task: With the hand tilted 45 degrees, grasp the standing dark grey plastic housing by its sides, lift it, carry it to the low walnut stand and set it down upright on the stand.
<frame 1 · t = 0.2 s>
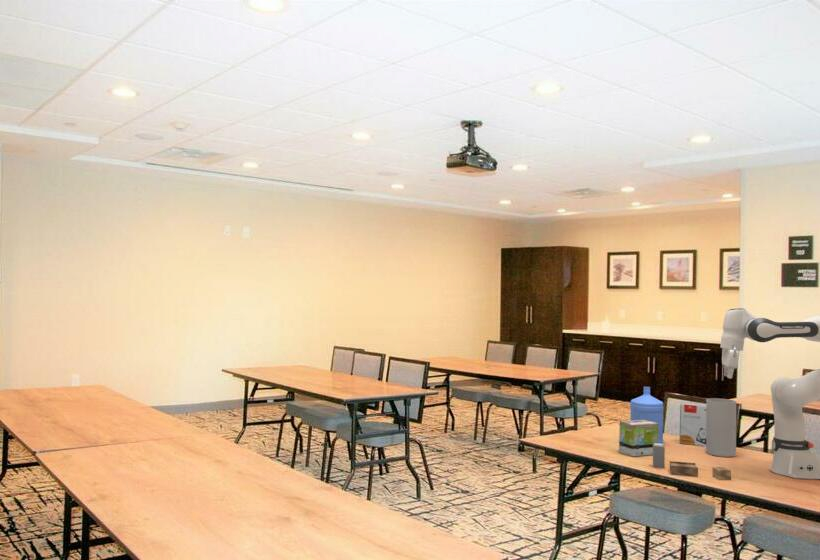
hand: (727, 377, 279), 39 cm above the table, tool pointing down, fingers open, 8 cm apart
tea box: (638, 454, 302), on the table
stand: (683, 473, 269), on the table
housing: (658, 466, 279), on the table
cylinder vase: (721, 454, 303), on the table
water jug: (646, 443, 323), on the table
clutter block: (721, 478, 262), on the table
hard drive box: (696, 444, 323), on the table
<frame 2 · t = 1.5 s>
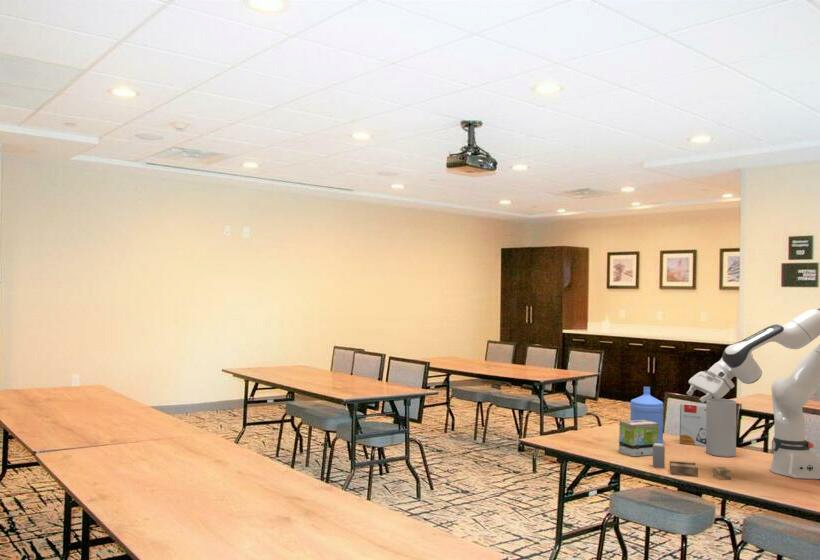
hand: (694, 397, 275), 30 cm above the table, tool tilted 45°, fingers open, 8 cm apart
nothing on the table moved.
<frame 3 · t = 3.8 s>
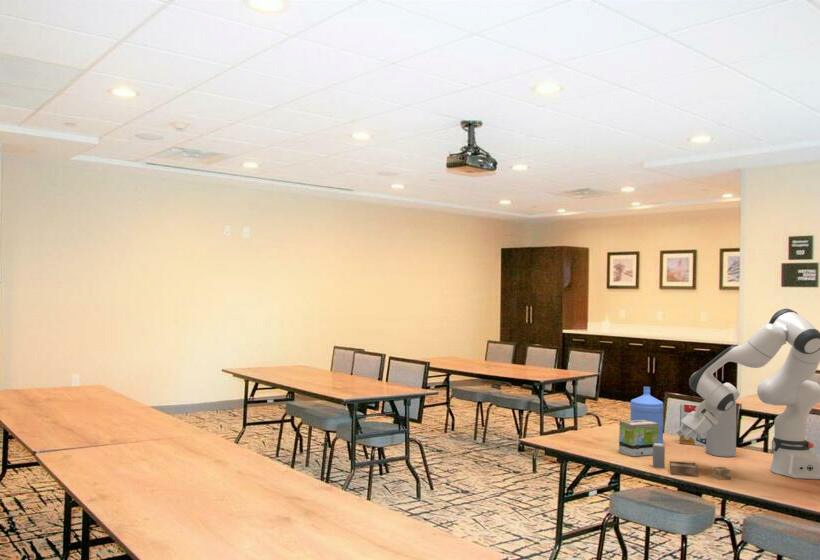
hand: (681, 436, 277), 14 cm above the table, tool tilted 45°, fingers open, 8 cm apart
nothing on the table moved.
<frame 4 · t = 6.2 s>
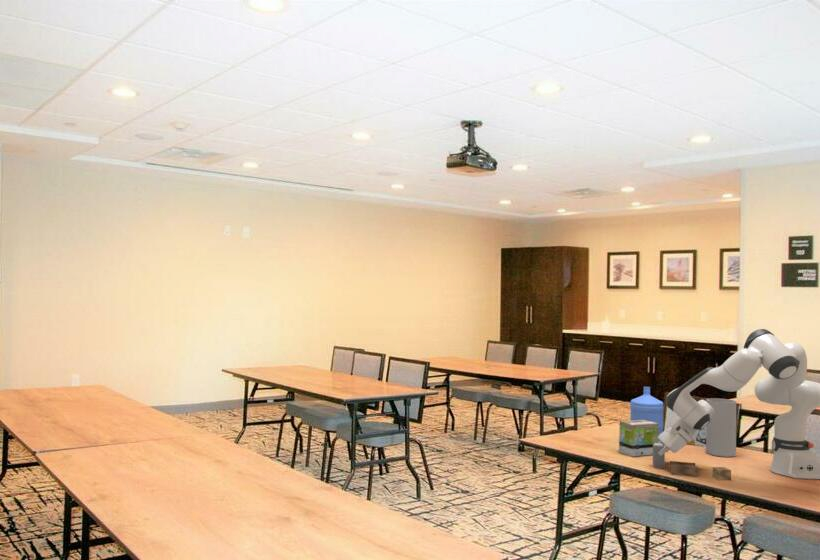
hand: (657, 452, 279), 6 cm above the table, tool tilted 45°, fingers closed on housing, 5 cm apart
housing: (658, 466, 279), on the table, touching gripper
everything else where it was.
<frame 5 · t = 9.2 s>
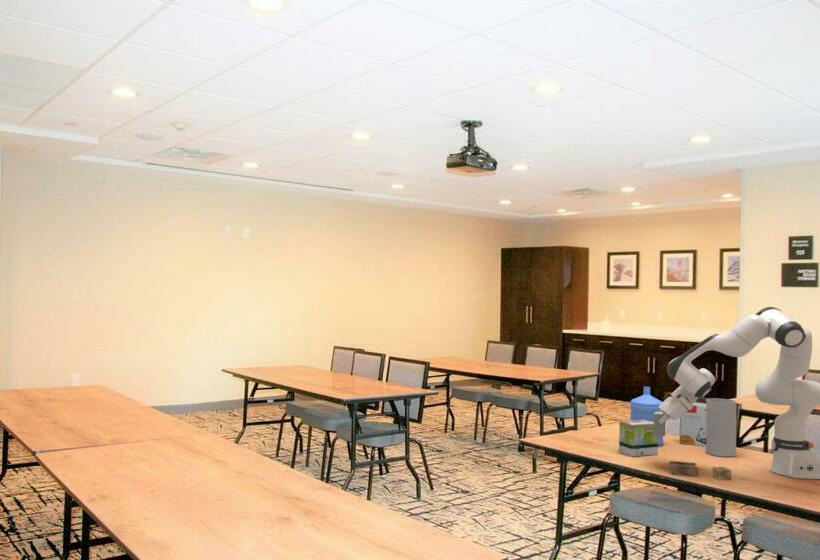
hand: (657, 421, 279), 19 cm above the table, tool tilted 45°, fingers closed on housing, 5 cm apart
housing: (659, 434, 279), point 13 cm above the table, touching gripper
everything else where it was.
when the fingers open (10 cm above the table, at t = 12.2 s): housing drops 1 cm, resting on stand.
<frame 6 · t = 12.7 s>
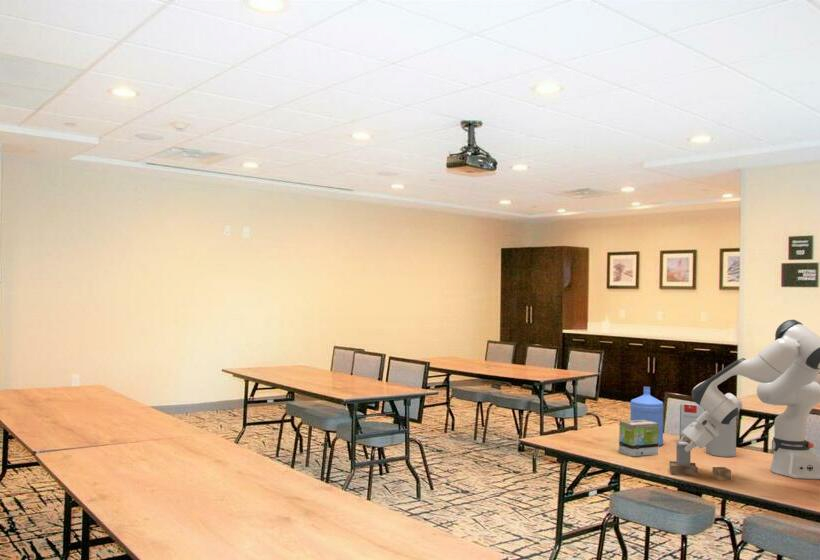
hand: (681, 447, 269), 10 cm above the table, tool tilted 45°, fingers open, 8 cm apart
housing: (683, 465, 269), point 3 cm above the table, touching stand
everything else where it was.
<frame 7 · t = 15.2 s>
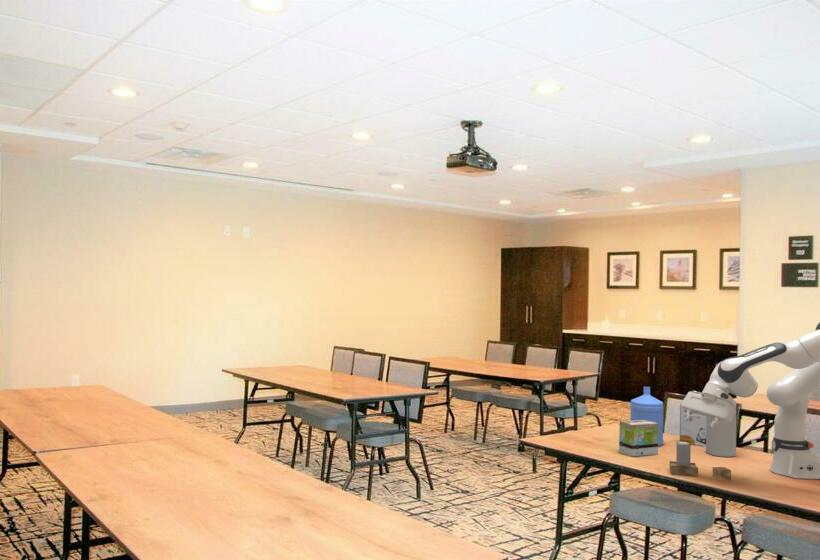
hand: (699, 424, 260), 22 cm above the table, tool tilted 40°, fingers open, 8 cm apart
nothing on the table moved.
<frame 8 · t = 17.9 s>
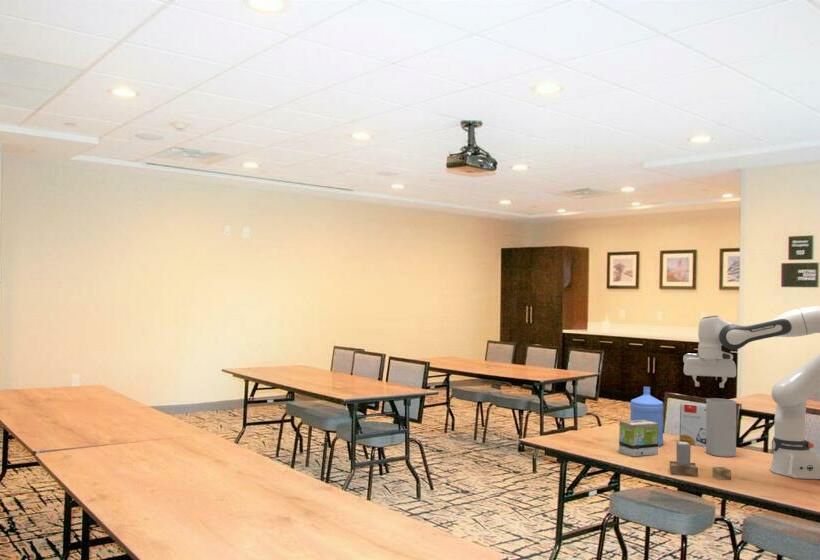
hand: (709, 386, 274), 35 cm above the table, tool pointing down, fingers open, 8 cm apart
nothing on the table moved.
at the end: housing inside the target area on the stand (0.0 cm from its centre), point 3.0 cm above the stand's base; housing tilted 0°; the gripper is holding nothing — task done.
